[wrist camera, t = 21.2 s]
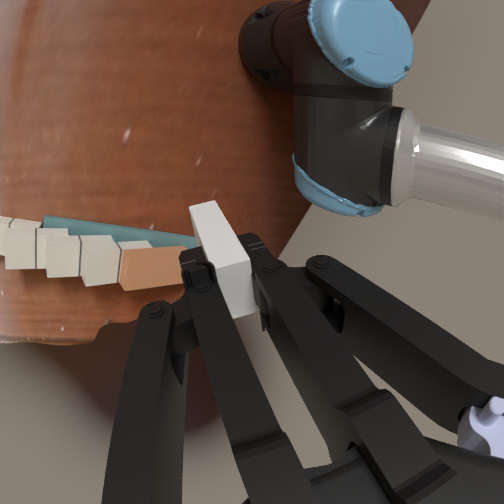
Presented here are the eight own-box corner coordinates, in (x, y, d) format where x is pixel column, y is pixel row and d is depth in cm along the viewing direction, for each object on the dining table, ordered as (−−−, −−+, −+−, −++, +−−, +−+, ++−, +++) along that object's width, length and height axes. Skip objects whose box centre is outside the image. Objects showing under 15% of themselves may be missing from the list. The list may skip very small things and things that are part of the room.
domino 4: (152, 247, 50) (87, 252, 42) (147, 279, 52) (85, 286, 44) (146, 240, 51) (83, 244, 43) (141, 271, 53) (81, 277, 46)
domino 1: (38, 228, 42) (-18, 219, 38) (38, 261, 44) (-16, 252, 40) (42, 222, 44) (-12, 214, 40) (41, 254, 46) (-11, 245, 42)
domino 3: (114, 242, 47) (47, 243, 40) (110, 274, 49) (47, 278, 42) (110, 234, 48) (46, 235, 41) (107, 266, 51) (46, 269, 44)
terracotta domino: (190, 252, 52) (128, 257, 45) (183, 283, 55) (124, 291, 47) (183, 245, 54) (123, 249, 46) (176, 275, 56) (119, 282, 48)
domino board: (205, 238, 55) (206, 240, 54) (193, 281, 59) (194, 284, 58) (44, 215, 44) (43, 217, 43) (44, 262, 47) (43, 265, 47)
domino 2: (68, 235, 44) (3, 235, 37) (67, 268, 46) (5, 269, 39) (67, 228, 45) (5, 227, 38) (65, 260, 48) (6, 261, 41)
